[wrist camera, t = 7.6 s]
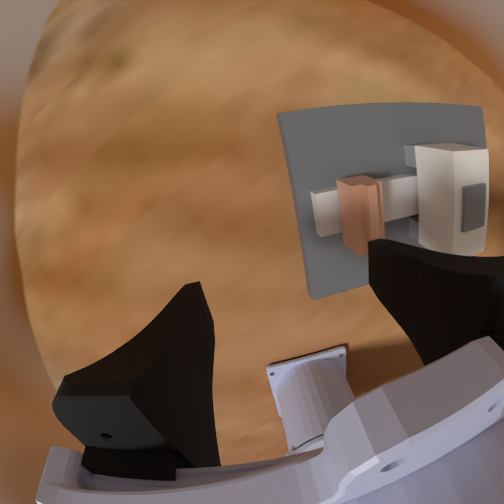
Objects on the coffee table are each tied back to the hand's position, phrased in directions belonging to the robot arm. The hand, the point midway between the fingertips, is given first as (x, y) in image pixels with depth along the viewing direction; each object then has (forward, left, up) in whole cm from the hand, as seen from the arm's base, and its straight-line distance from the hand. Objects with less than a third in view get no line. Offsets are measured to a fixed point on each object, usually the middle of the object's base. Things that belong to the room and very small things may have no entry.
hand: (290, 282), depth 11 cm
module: (0, -14, -8) cm, 16 cm away
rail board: (0, -13, -9) cm, 16 cm away
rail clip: (0, -6, -7) cm, 9 cm away
